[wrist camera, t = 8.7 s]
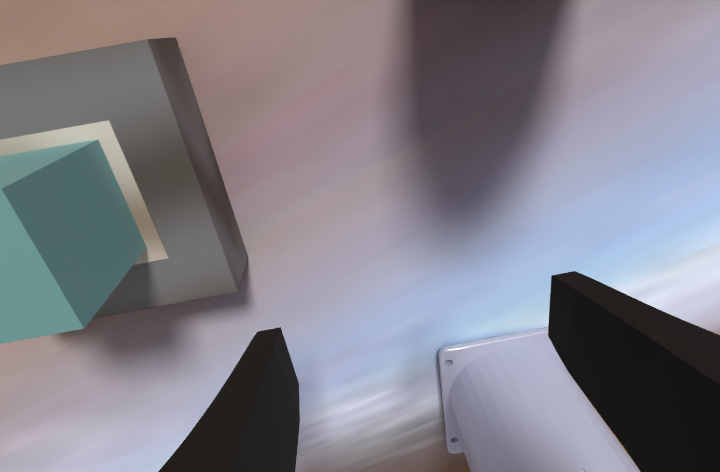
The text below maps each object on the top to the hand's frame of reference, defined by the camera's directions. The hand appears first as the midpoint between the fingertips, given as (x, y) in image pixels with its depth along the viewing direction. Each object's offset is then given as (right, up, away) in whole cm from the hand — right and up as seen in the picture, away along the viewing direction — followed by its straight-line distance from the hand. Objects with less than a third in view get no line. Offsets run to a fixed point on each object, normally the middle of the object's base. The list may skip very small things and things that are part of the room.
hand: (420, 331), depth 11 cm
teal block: (-13, +4, +4) cm, 14 cm away
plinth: (-13, +5, +7) cm, 16 cm away
